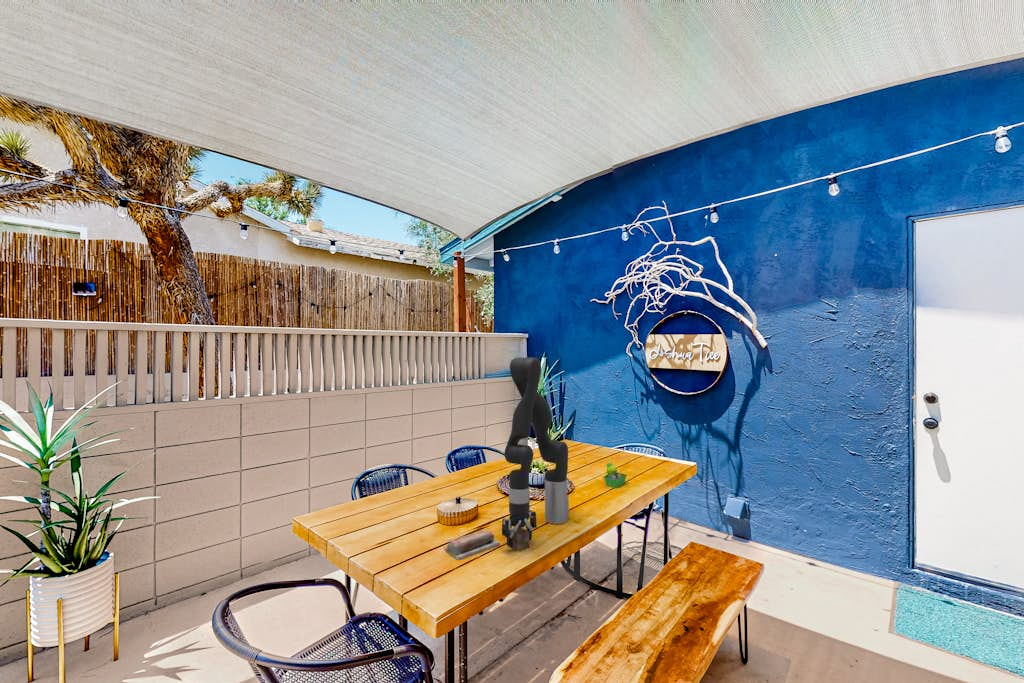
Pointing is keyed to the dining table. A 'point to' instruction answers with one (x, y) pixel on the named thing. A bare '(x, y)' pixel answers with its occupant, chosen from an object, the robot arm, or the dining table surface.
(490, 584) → the dining table surface
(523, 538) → the walnut block
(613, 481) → the potted cactus
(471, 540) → the packaged product
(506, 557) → the dining table surface
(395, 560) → the dining table surface
